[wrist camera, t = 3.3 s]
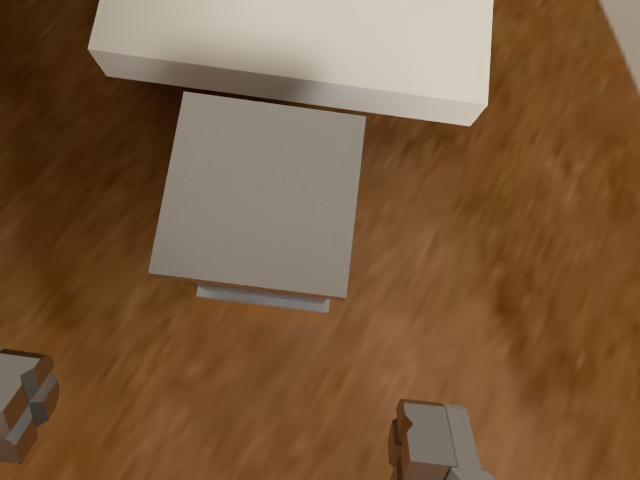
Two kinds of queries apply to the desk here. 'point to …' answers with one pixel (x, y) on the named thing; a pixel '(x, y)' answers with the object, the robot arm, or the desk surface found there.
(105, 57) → the stand
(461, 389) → the desk surface
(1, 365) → the robot arm
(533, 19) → the desk surface
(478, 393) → the desk surface
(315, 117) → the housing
